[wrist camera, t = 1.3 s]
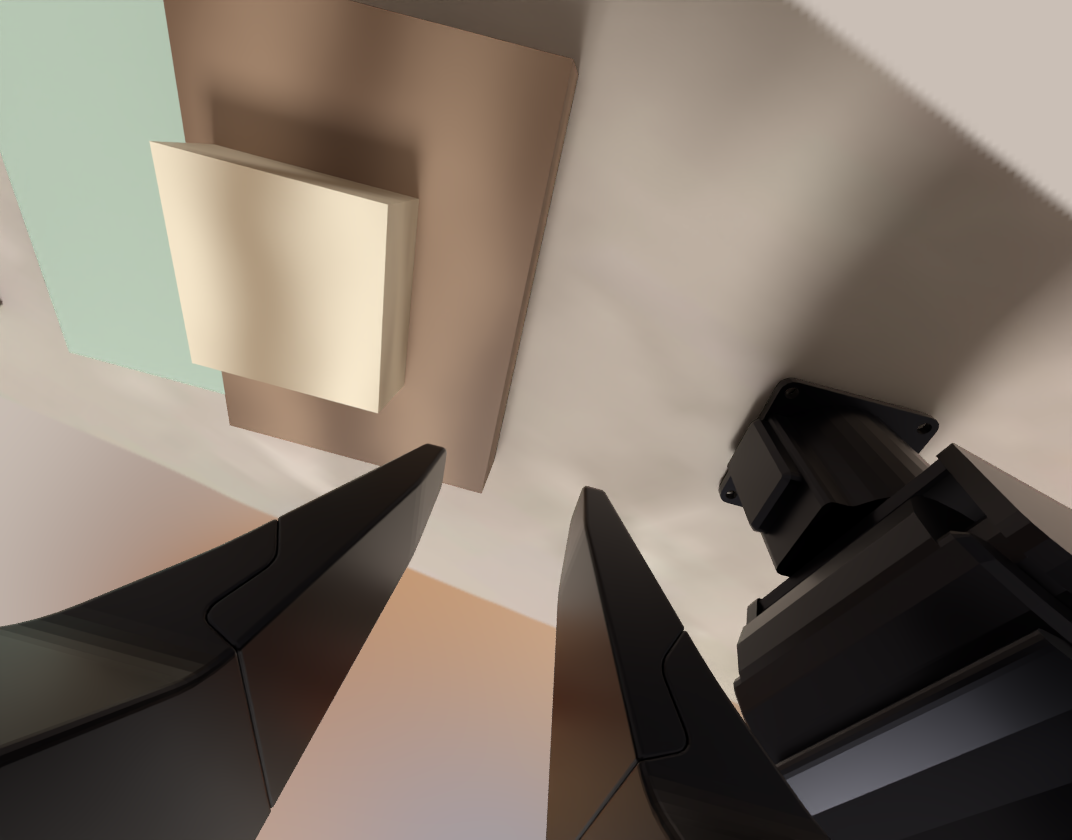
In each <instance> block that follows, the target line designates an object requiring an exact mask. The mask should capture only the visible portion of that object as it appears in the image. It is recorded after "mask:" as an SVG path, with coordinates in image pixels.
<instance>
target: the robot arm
mask: <svg viewBox="0 0 1072 840" xmlns="http://www.w3.org/2000/svg"><path fill="white" fill-rule="evenodd" d="M789 388H795V391H794V392H793V393H791V394H785V392H786V391H787V390H788V389H789ZM924 423H926V424H925V426H923V427H922V428H920V429H918V427H919V426H920V425H922V424H924ZM938 428H939V423H938V422H937V420H936V419H934V418H933V417H932V416H930V415H928V414H926V413H922V412H919V411H915V410H911V409H908V408H904V407H900V406H896V405H893V404H889V403H885V402H881V401H878V400H874V399H870V398H866V397H863V396H859V395H855V394H852V393H848V392H844V391H840V390H837V389H833V388H829V387H825V386H822V385H818V384H814V383H810V382H807V381H803V380H799V379H796V378H787V379H784V380H782V381H781V382H780V383H779V384H778V385H777V386H776V388H775V390H774V392H773V393H772V395H771V397H770V399H769V400H768V402H767V404H766V406H765V407H764V409H763V411H762V413H761V414H760V416H759V418H758V419H757V420H755V421H753V422H752V423H751V424H750V426H749V428H748V429H747V431H746V433H745V435H744V436H743V438H742V440H741V442H740V444H739V445H738V447H737V449H736V451H735V452H734V454H733V456H732V458H731V460H730V461H729V463H728V465H727V468H728V470H729V471H728V472H727V474H726V476H725V478H724V479H723V481H722V483H721V485H720V486H719V494H720V497H721V499H722V500H723V501H724V502H726V503H730V504H734V505H737V506H741V507H743V508H744V511H745V514H746V516H747V519H748V521H749V524H750V526H751V528H752V529H753V531H756V532H760V533H761V535H762V537H763V539H764V542H765V544H766V547H767V549H768V552H769V554H770V556H771V559H772V561H773V564H774V566H775V569H776V571H777V573H779V574H781V575H784V576H788V577H789V578H788V579H787V580H786V581H784V582H783V583H782V584H781V585H779V586H778V587H777V588H775V589H774V590H773V591H772V592H770V593H769V594H768V595H767V596H765V597H764V598H763V599H760V598H758V599H756V600H755V601H754V602H753V603H751V604H750V605H749V606H748V608H747V624H746V626H744V627H743V630H742V632H741V635H740V638H739V641H738V643H737V653H738V668H739V675H740V677H738V678H737V679H735V681H734V683H733V684H734V691H735V695H736V698H737V701H738V704H739V706H740V709H741V712H742V715H743V718H744V720H745V722H746V723H745V722H744V720H743V719H742V717H741V716H740V714H739V713H738V712H737V710H736V708H735V707H734V706H733V704H732V703H731V701H730V700H729V698H728V697H727V695H726V694H725V692H724V691H723V689H722V688H721V686H720V685H719V683H718V682H717V680H716V679H715V677H714V676H713V674H712V672H711V671H710V669H709V668H708V666H707V664H706V663H705V661H704V659H703V658H702V656H701V655H700V653H699V651H698V650H697V648H696V646H695V645H694V643H693V641H692V640H691V638H690V636H689V634H688V633H687V632H686V631H683V630H684V626H683V625H682V623H681V621H680V619H679V618H678V616H677V614H676V613H675V611H674V609H673V608H672V606H671V604H670V602H669V601H668V599H667V597H666V596H665V594H664V592H663V590H662V589H661V587H660V585H659V584H658V582H657V580H656V579H655V577H654V575H653V573H652V572H651V570H650V568H649V567H648V565H647V563H646V562H645V560H644V558H643V556H642V555H641V553H640V551H639V550H638V548H637V546H636V544H635V543H634V541H633V539H632V538H631V536H630V534H629V533H628V531H627V529H626V527H625V526H624V524H623V522H622V521H621V519H620V517H619V516H618V514H617V512H616V510H615V509H614V507H613V505H612V504H611V502H610V500H609V499H608V497H607V495H606V493H605V492H604V491H603V490H600V489H596V488H593V487H589V486H585V487H584V488H583V489H582V491H581V494H580V496H579V499H578V502H577V505H576V507H575V510H574V513H573V516H572V519H571V523H570V528H569V534H568V540H567V545H566V551H565V557H564V562H563V568H562V574H561V579H560V586H559V594H558V606H557V627H556V648H555V667H554V688H553V708H552V728H551V749H550V769H549V790H548V791H549V792H548V810H547V831H546V840H1072V509H1070V508H1068V507H1066V506H1065V505H1063V504H1061V503H1059V502H1057V501H1056V500H1054V499H1052V498H1050V497H1049V496H1047V495H1045V494H1043V493H1042V492H1040V491H1038V490H1036V489H1034V488H1033V487H1031V486H1029V485H1027V484H1026V483H1024V482H1022V481H1020V480H1018V479H1017V478H1015V477H1013V476H1011V475H1010V474H1008V473H1006V472H1004V471H1002V470H1001V469H999V468H997V467H995V466H994V465H992V464H990V463H988V462H986V461H985V460H983V459H981V458H979V457H978V456H976V455H974V454H972V453H970V452H969V451H967V450H965V449H963V448H962V447H960V446H958V445H956V444H954V443H952V444H950V445H949V446H948V447H947V448H945V449H944V450H943V451H942V452H940V453H939V454H938V455H937V458H938V460H937V461H936V462H934V463H933V464H932V465H931V466H930V465H929V464H928V463H927V462H926V461H925V460H924V459H923V458H922V457H921V456H920V455H919V453H920V451H921V450H922V449H923V448H924V446H925V445H926V444H927V443H928V442H929V440H930V439H931V438H932V437H933V436H934V434H935V433H936V432H937V430H938ZM446 455H447V451H446V449H445V448H444V447H441V446H437V445H433V444H429V443H427V444H424V445H422V446H420V447H418V448H416V449H414V450H412V451H410V452H408V453H406V454H404V455H402V456H400V457H398V458H396V459H394V460H392V461H390V462H388V463H386V464H384V465H382V466H380V467H378V468H376V469H374V470H372V471H370V472H368V473H366V474H364V475H362V476H360V477H358V478H356V479H354V480H352V481H350V482H348V483H346V484H344V485H342V486H340V487H338V488H336V489H334V490H332V491H330V492H328V493H326V494H324V495H322V496H320V497H318V498H316V499H314V500H312V501H310V502H308V503H306V504H304V505H302V506H300V507H298V508H296V509H294V510H292V511H290V512H288V513H286V514H284V515H282V516H280V517H279V518H278V521H277V520H272V521H270V522H268V523H266V524H264V525H262V526H260V527H258V528H256V529H254V530H252V531H250V532H248V533H246V534H244V535H242V536H239V537H237V538H235V539H233V540H231V541H229V542H227V543H225V544H223V545H220V546H218V547H216V548H213V549H211V550H209V551H206V552H204V553H202V554H200V555H197V556H195V557H193V558H190V559H188V560H186V561H183V562H181V563H178V564H176V565H174V566H171V567H169V568H166V569H164V570H162V571H159V572H156V573H154V574H152V575H149V576H147V577H144V578H142V579H139V580H137V581H134V582H132V583H129V584H127V585H125V586H122V587H120V588H117V589H115V590H112V591H110V592H107V593H105V594H102V595H100V596H98V597H95V598H93V599H91V600H88V601H85V602H83V603H81V604H78V605H75V606H73V607H70V608H67V609H65V610H62V611H60V612H57V613H54V614H51V615H47V616H44V617H41V618H37V619H34V620H30V621H26V622H22V623H18V624H13V625H8V626H1V627H0V840H255V839H256V837H257V836H258V834H259V832H260V830H261V828H262V826H263V825H264V823H265V821H266V819H267V817H268V816H269V814H270V812H271V809H270V808H272V807H273V806H274V805H275V803H276V801H277V799H278V797H279V796H280V794H281V792H282V790H283V788H284V787H285V785H286V783H287V781H288V780H289V778H290V776H291V774H292V772H293V771H294V769H295V767H296V765H297V763H298V762H299V760H300V758H301V756H302V754H303V753H304V751H305V749H306V747H307V745H308V744H309V742H310V740H311V738H312V736H313V735H314V733H315V731H316V729H317V727H318V726H319V724H320V722H321V720H322V718H323V717H324V715H325V713H326V711H327V710H328V708H329V706H330V704H331V702H332V701H333V699H334V697H335V695H336V693H337V692H338V690H339V688H340V686H341V684H342V682H343V681H344V679H345V677H346V675H347V674H348V672H349V670H350V668H351V666H352V665H353V663H354V661H355V659H356V657H357V656H358V654H359V652H360V650H361V649H362V647H363V645H364V643H365V641H366V640H367V638H368V636H369V634H370V632H371V630H372V629H373V627H374V625H375V623H376V621H377V620H378V618H379V616H380V614H381V613H382V611H383V609H384V607H385V605H386V604H387V602H388V600H389V598H390V596H391V595H392V593H393V591H394V589H395V588H396V586H397V584H398V582H399V580H400V578H401V577H402V575H403V573H404V571H405V570H406V568H407V566H408V564H409V562H410V560H411V558H412V556H413V555H414V552H415V550H416V548H417V545H418V543H419V541H420V538H421V536H422V533H423V531H424V528H425V526H426V524H427V521H428V519H429V516H430V514H431V511H432V509H433V506H434V504H435V501H436V499H437V496H438V494H439V491H440V489H441V485H442V482H443V476H444V469H445V462H446ZM731 490H732V491H734V492H733V493H731V494H727V492H728V491H731Z"/></svg>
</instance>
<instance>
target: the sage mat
mask: <svg viewBox="0 0 1072 840" xmlns="http://www.w3.org/2000/svg"><path fill="white" fill-rule="evenodd" d="M149 141H159V142H179V143H186V142H185V136H184V130H183V123H182V117H181V111H180V104H179V98H178V91H177V85H176V79H175V72H174V66H173V60H172V53H171V47H170V41H169V34H168V28H167V21H166V15H165V9H164V2H163V0H0V153H1V156H2V159H3V162H4V164H5V167H6V170H7V173H8V176H9V179H10V182H11V185H12V188H13V191H14V193H15V196H16V199H17V202H18V205H19V208H20V211H21V214H22V217H23V220H24V222H25V225H26V228H27V231H28V234H29V237H30V240H31V243H32V246H33V249H34V251H35V254H36V257H37V260H38V263H39V266H40V269H41V272H42V275H43V278H44V281H45V283H46V286H47V289H48V292H49V295H50V298H51V301H52V304H53V307H54V310H55V312H56V315H57V318H58V321H59V324H60V327H61V330H62V333H63V336H64V339H65V341H66V344H67V347H68V350H69V352H70V353H74V354H78V355H81V356H85V357H89V358H92V359H96V360H100V361H103V362H107V363H111V364H114V365H118V366H122V367H126V368H129V369H133V370H137V371H140V372H144V373H148V374H151V375H155V376H159V377H162V378H166V379H170V380H173V381H177V382H181V383H185V384H188V385H192V386H196V387H199V388H203V389H207V390H210V391H214V392H218V393H221V394H225V391H224V384H223V378H222V372H221V371H220V370H216V369H212V368H209V367H205V366H201V365H197V364H194V363H192V360H191V355H190V350H189V344H188V339H187V334H186V329H185V324H184V318H183V313H182V308H181V303H180V298H179V293H178V287H177V282H176V277H175V272H174V267H173V261H172V256H171V251H170V246H169V241H168V235H167V230H166V225H165V220H164V215H163V210H162V204H161V199H160V194H159V189H158V184H157V178H156V173H155V168H154V163H153V158H152V152H151V147H150V142H149Z"/></svg>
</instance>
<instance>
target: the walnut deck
mask: <svg viewBox="0 0 1072 840" xmlns="http://www.w3.org/2000/svg"><path fill="white" fill-rule="evenodd" d="M163 2H164V9H165V15H166V21H167V28H168V34H169V41H170V47H171V53H172V60H173V66H174V72H175V79H176V85H177V91H178V98H179V104H180V111H181V117H182V123H183V130H184V136H185V142H186V143H199V144H215V145H218V146H222V147H226V148H230V149H233V150H237V151H241V152H245V153H248V154H252V155H256V156H260V157H263V158H267V159H271V160H275V161H279V162H282V163H286V164H290V165H294V166H297V167H301V168H305V169H309V170H312V171H316V172H320V173H324V174H327V175H331V176H335V177H339V178H342V179H346V180H350V181H354V182H357V183H361V184H365V185H369V186H372V187H376V188H380V189H384V190H387V191H391V192H395V193H399V194H402V195H406V196H410V197H414V198H417V199H419V205H418V218H417V230H416V243H415V255H414V268H413V280H412V293H411V305H410V318H409V331H408V343H407V356H406V368H405V381H404V386H403V387H402V388H401V389H400V390H399V391H398V392H397V393H396V394H395V396H394V397H393V398H392V399H391V400H390V401H389V402H388V403H387V404H386V405H385V406H384V407H383V409H382V410H381V411H380V412H379V413H375V412H371V411H367V410H364V409H360V408H356V407H353V406H349V405H345V404H342V403H338V402H334V401H330V400H327V399H323V398H319V397H316V396H312V395H308V394H305V393H301V392H297V391H294V390H290V389H286V388H282V387H279V386H275V385H271V384H268V383H264V382H260V381H257V380H253V379H249V378H245V377H242V376H238V375H234V374H231V373H227V372H223V371H221V372H222V378H223V384H224V391H225V397H226V403H227V410H228V416H229V423H230V425H231V426H235V427H239V428H242V429H246V430H250V431H253V432H257V433H261V434H264V435H268V436H272V437H276V438H279V439H283V440H287V441H290V442H294V443H298V444H301V445H305V446H309V447H312V448H316V449H320V450H323V451H327V452H331V453H334V454H338V455H342V456H345V457H349V458H353V459H357V460H360V461H364V462H368V463H371V464H375V465H379V466H382V465H384V464H386V463H388V462H390V461H392V460H394V459H396V458H398V457H400V456H402V455H404V454H406V453H408V452H410V451H412V450H414V449H416V448H418V447H420V446H422V445H424V444H427V443H429V444H433V445H437V446H441V447H444V448H445V449H446V451H447V455H446V462H445V469H444V476H443V482H442V483H445V484H449V485H452V486H456V487H460V488H463V489H467V490H471V491H474V492H478V493H482V491H483V488H484V486H485V483H486V480H487V478H488V475H489V473H490V470H491V467H492V465H493V462H494V458H495V453H496V449H497V444H498V440H499V435H500V430H501V426H502V421H503V417H504V412H505V408H506V403H507V399H508V394H509V389H510V385H511V380H512V376H513V371H514V367H515V362H516V357H517V353H518V348H519V344H520V339H521V335H522V330H523V325H524V321H525V316H526V312H527V307H528V303H529V298H530V294H531V289H532V284H533V280H534V275H535V271H536V266H537V262H538V257H539V252H540V248H541V243H542V239H543V234H544V230H545V225H546V220H547V216H548V211H549V207H550V202H551V198H552V193H553V189H554V184H555V179H556V175H557V170H558V166H559V161H560V157H561V152H562V147H563V143H564V138H565V134H566V129H567V125H568V120H569V115H570V111H571V106H572V102H573V97H574V93H575V88H576V84H577V79H578V72H577V69H576V66H575V63H574V60H573V59H571V58H567V57H564V56H560V55H556V54H552V53H548V52H545V51H541V50H537V49H533V48H529V47H526V46H522V45H518V44H514V43H510V42H506V41H503V40H499V39H495V38H491V37H487V36H484V35H480V34H476V33H472V32H468V31H465V30H461V29H457V28H453V27H449V26H446V25H442V24H438V23H434V22H430V21H427V20H423V19H419V18H415V17H411V16H408V15H404V14H400V13H396V12H392V11H389V10H385V9H381V8H377V7H373V6H370V5H366V4H362V3H358V2H354V1H351V0H163Z"/></svg>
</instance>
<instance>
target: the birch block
mask: <svg viewBox="0 0 1072 840" xmlns="http://www.w3.org/2000/svg"><path fill="white" fill-rule="evenodd" d="M149 142H150V147H151V152H152V158H153V163H154V168H155V173H156V178H157V184H158V189H159V194H160V199H161V204H162V210H163V215H164V220H165V225H166V230H167V235H168V241H169V246H170V251H171V256H172V261H173V267H174V272H175V277H176V282H177V287H178V293H179V298H180V303H181V308H182V313H183V318H184V324H185V329H186V334H187V339H188V344H189V350H190V355H191V360H192V363H194V364H197V365H201V366H205V367H209V368H212V369H216V370H220V371H223V372H227V373H231V374H234V375H238V376H242V377H245V378H249V379H253V380H257V381H260V382H264V383H268V384H271V385H275V386H279V387H282V388H286V389H290V390H294V391H297V392H301V393H305V394H308V395H312V396H316V397H319V398H323V399H327V400H330V401H334V402H338V403H342V404H345V405H349V406H353V407H356V408H360V409H364V410H367V411H371V412H375V413H379V412H380V411H381V410H382V409H383V407H384V406H385V405H386V404H387V403H388V402H389V401H390V400H391V399H392V398H393V397H394V396H395V394H396V393H397V392H398V391H399V390H400V389H401V388H402V387H403V386H404V381H405V368H406V356H407V343H408V331H409V318H410V305H411V293H412V280H413V268H414V255H415V243H416V230H417V218H418V205H419V199H417V198H414V197H410V196H406V195H402V194H399V193H395V192H391V191H387V190H384V189H380V188H376V187H372V186H369V185H365V184H361V183H357V182H354V181H350V180H346V179H342V178H339V177H335V176H331V175H327V174H324V173H320V172H316V171H312V170H309V169H305V168H301V167H297V166H294V165H290V164H286V163H282V162H279V161H275V160H271V159H267V158H263V157H260V156H256V155H252V154H248V153H245V152H241V151H237V150H233V149H230V148H226V147H222V146H218V145H215V144H199V143H179V142H159V141H149Z"/></svg>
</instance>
